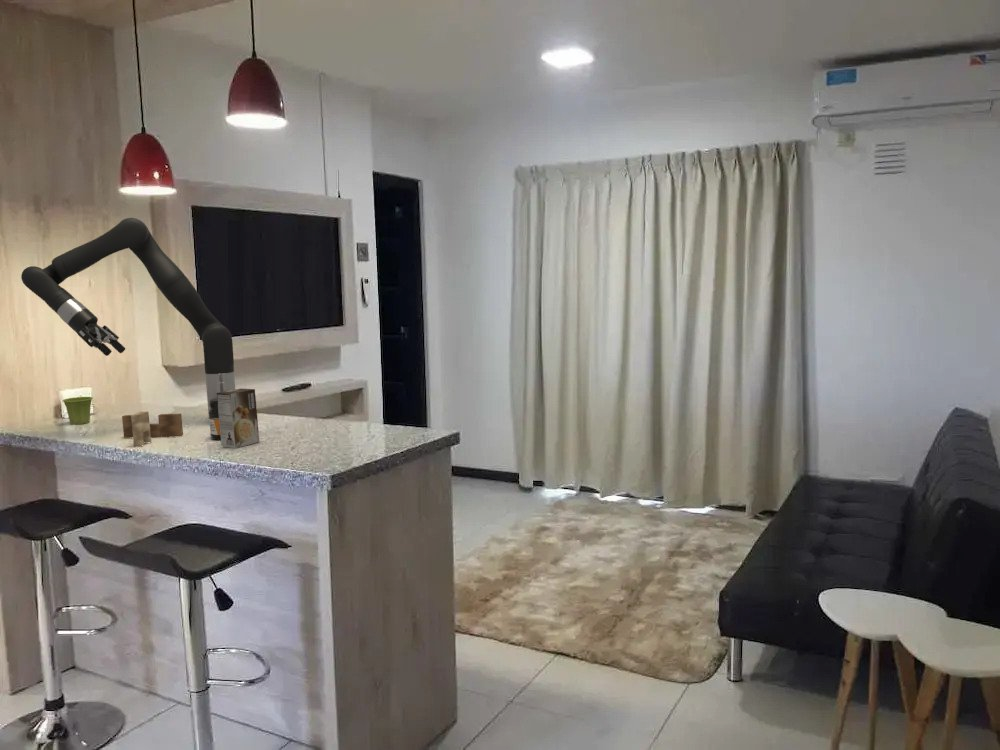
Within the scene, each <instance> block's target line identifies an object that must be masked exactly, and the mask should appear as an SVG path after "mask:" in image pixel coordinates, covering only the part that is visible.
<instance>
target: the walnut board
mask: <svg viewBox="0 0 1000 750" xmlns="http://www.w3.org/2000/svg"><path fill="white" fill-rule="evenodd" d="M131 415H132V414H124V415H122V416H121V420H122V421H121V422H122V429H123V430H122V432H123V439H126V438H125V437H133V430H132V420H131ZM157 417H158V419H157V420H158V423H150V433H151V438H170V437H169V436H181V437H183V436H184V430H183V429H184V428H183V417H182V413H159V414H158V415H157ZM182 435H183V436H182ZM166 436H167V437H166Z"/></svg>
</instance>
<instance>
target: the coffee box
mask: <svg viewBox="0 0 1000 750" xmlns="http://www.w3.org/2000/svg"><path fill="white" fill-rule="evenodd" d="M217 402H218V413H219V424H220V435H221V440H220V443H221V444H220V445H221V447H222V446H223V447H222V448H229V447H230V448H231V449H237V448H238V447H239V448H242V447H245V446H249V445H254V444H257V443H260V433H259V431H260V430H259V420H258V409H257V398H256V389H255V388H235V390H229V391H224V392H219V393H217Z"/></svg>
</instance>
